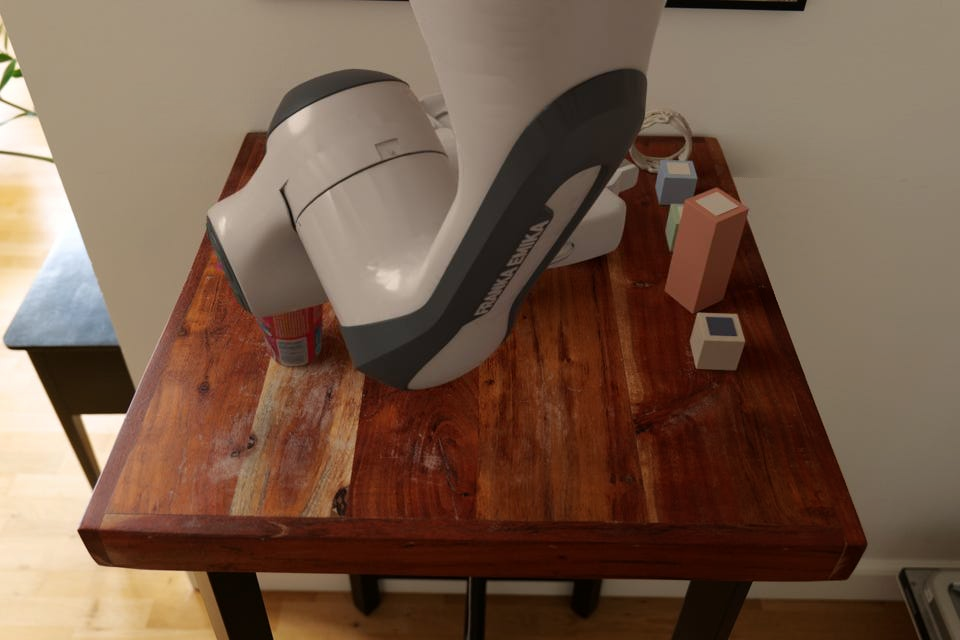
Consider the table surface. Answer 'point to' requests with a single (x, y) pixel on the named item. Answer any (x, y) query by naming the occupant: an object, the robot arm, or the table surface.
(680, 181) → the block
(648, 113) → the bracelet
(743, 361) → the table surface
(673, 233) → the block
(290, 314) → the cup
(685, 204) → the tall block
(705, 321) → the block
